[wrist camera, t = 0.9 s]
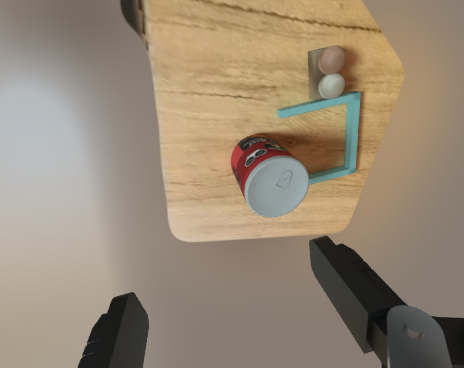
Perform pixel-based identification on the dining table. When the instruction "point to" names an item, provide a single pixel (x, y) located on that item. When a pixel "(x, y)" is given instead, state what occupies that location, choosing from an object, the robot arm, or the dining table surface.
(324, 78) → the egg holder with eggs
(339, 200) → the dining table surface
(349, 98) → the teal bay
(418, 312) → the robot arm
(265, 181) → the canned food
